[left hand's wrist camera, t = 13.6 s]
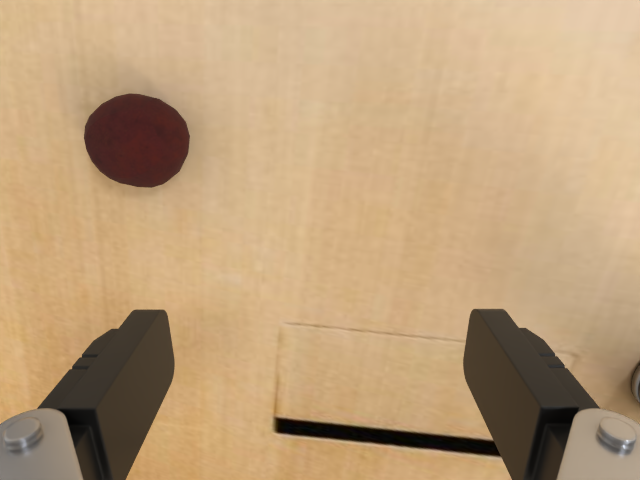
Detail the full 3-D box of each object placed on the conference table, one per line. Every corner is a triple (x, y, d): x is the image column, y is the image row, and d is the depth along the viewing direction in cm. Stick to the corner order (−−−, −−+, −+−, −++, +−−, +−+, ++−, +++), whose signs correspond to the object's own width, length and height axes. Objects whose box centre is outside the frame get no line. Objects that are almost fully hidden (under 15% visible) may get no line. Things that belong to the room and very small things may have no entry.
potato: (95, 112, 37) (46, 121, 30) (174, 76, 36) (142, 78, 29) (139, 189, 40) (103, 213, 33) (214, 158, 38) (192, 176, 32)
